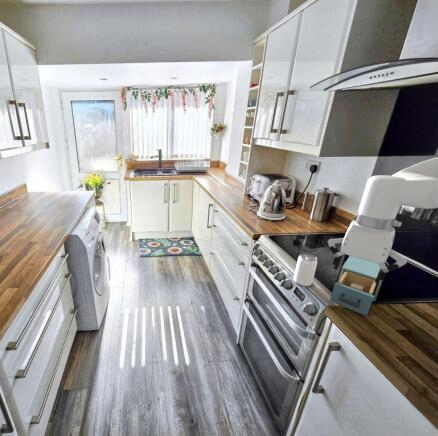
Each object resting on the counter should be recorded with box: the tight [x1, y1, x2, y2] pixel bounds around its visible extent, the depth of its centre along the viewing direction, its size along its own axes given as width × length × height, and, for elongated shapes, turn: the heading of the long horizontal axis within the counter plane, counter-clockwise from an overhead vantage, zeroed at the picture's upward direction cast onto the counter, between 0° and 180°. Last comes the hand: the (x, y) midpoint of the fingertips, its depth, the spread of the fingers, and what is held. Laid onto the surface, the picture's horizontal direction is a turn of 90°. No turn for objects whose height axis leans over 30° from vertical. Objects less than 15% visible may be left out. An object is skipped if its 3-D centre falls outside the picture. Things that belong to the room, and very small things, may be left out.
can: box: [293, 252, 318, 287], centre depth 96 cm, size 6×6×12 cm
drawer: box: [329, 271, 376, 317], centre depth 84 cm, size 17×10×8 cm, turn 131°
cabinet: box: [337, 255, 383, 303], centre depth 93 cm, size 13×11×9 cm
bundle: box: [350, 283, 364, 291], centre depth 86 cm, size 7×4×3 cm, turn 131°
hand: (355, 274), depth 72 cm, fingers open, 9 cm apart
